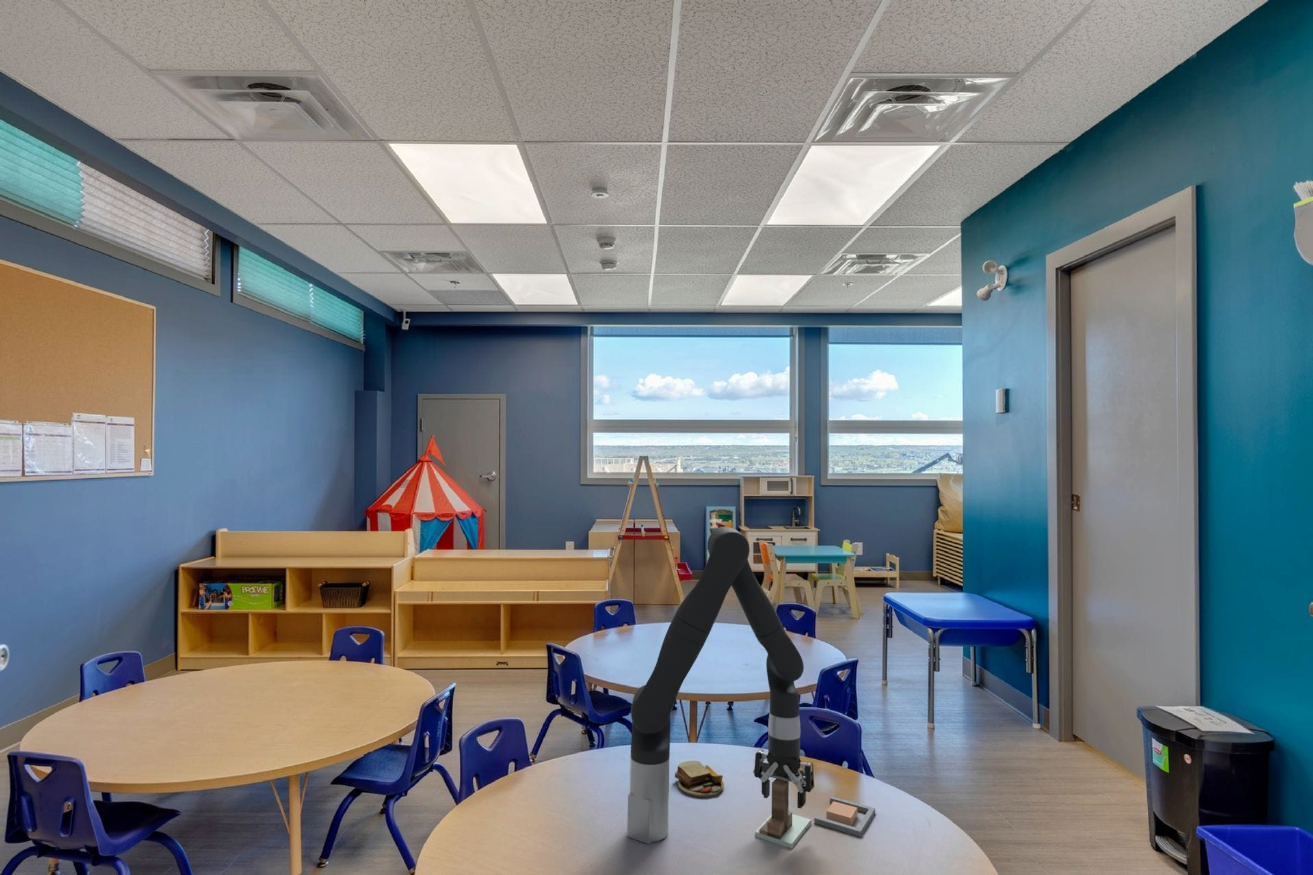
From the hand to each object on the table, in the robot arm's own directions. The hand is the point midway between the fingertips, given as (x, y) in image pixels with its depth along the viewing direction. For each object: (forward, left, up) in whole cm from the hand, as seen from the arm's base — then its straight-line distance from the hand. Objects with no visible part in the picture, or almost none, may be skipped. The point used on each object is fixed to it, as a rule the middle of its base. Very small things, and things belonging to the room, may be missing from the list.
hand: (783, 801), depth 159 cm
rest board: (0, 0, -6) cm, 6 cm away
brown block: (-2, 0, -6) cm, 6 cm away
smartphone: (+29, +12, -7) cm, 32 cm away
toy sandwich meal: (+8, +27, -7) cm, 29 cm away
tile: (+14, -10, -7) cm, 18 cm away
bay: (+14, -10, -6) cm, 18 cm away
